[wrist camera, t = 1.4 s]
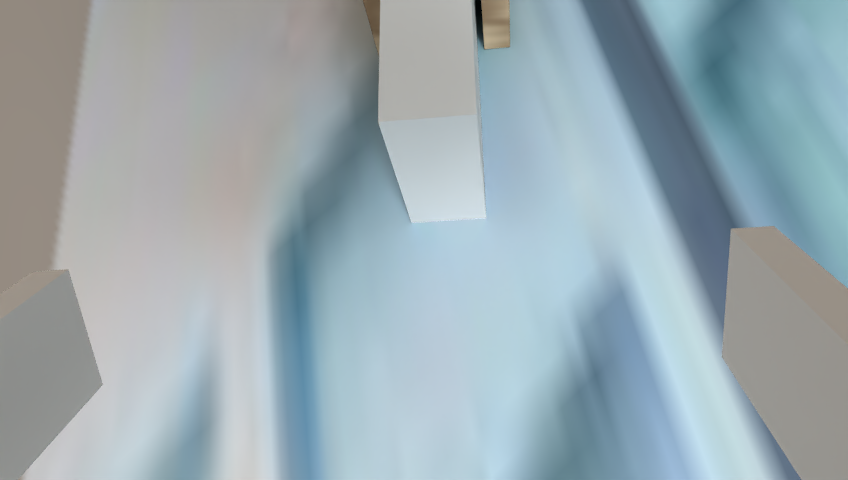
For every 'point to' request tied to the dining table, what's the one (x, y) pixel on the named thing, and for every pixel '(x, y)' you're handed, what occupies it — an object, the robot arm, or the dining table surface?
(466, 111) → the light grey rectangular block
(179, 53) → the dining table surface
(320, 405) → the dining table surface
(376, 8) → the sleeve box
